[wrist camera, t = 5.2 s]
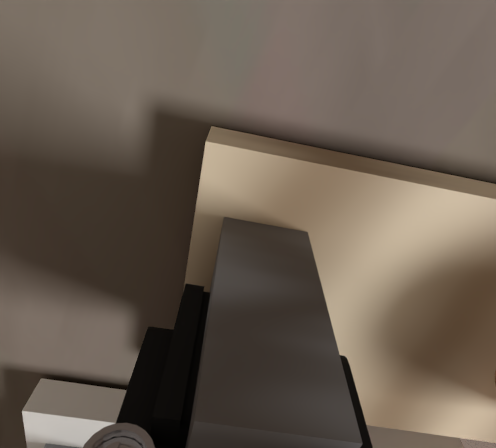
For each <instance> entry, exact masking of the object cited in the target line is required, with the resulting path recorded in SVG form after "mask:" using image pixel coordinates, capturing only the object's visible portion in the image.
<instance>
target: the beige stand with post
mask: <svg viewBox="0 0 496 448" xmlns="http://www.w3.org/2000/svg"><path fill="white" fill-rule="evenodd" d="M186 283H187V284H193V285H199V286H205V287H204V292H210V299H209V305H208V312H207V318H206V325H205V331H204V338H203V344H202V351H201V357H200V364H199V371H198V377H197V384H196V390H195V397H194V403H193V410H192V416H191V421H190V427H189V432H188V436H187V441H186V446H185V448H360V447H361V446H362V444H363V443H362V439H361V435H360V432H359V428H358V424H357V420H356V416H355V412H354V408H353V405H352V401H351V397H350V393H349V389H348V385H347V381H346V378H345V374H344V370H343V366H342V362H341V358H340V355H342V356H345V357H346V358H347V359H348V362H349V365H350V368H351V372H352V375H353V379H354V382H355V386H356V390H357V393H358V397H359V400H360V404H361V407H362V411H363V415H364V418H365V422H366V425H369V426H377V427H384V428H391V429H398V430H405V431H413V432H420V433H427V434H434V435H441V436H449V437H456V438H463V439H470V440H478V441H485V442H492V443H496V385H495V371H496V184H493V183H488V182H483V181H478V180H473V179H469V178H464V177H459V176H454V175H449V174H444V173H439V172H434V171H429V170H424V169H419V168H415V167H410V166H405V165H400V164H395V163H390V162H385V161H380V160H375V159H370V158H366V157H361V156H356V155H351V154H346V153H341V152H336V151H331V150H326V149H321V148H316V147H312V146H307V145H302V144H297V143H292V142H287V141H282V140H277V139H272V138H267V137H263V136H258V135H253V134H248V133H243V132H238V131H233V130H228V129H223V128H218V127H214V126H211V129H210V131H209V134H208V137H207V139H206V143H205V150H204V156H203V163H202V169H201V176H200V183H199V189H198V196H197V203H196V209H195V216H194V223H193V229H192V236H191V242H190V249H189V256H188V262H187V269H186V276H185V282H184V287H185V284H186ZM183 291H184V289H183Z"/></svg>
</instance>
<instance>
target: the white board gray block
mask: <svg viewBox="0 0 496 448" xmlns="http://www.w3.org/2000/svg"><path fill="white" fill-rule="evenodd" d="M126 391H127V390H122V389H114V388H107V387H100V386H93V385H86V384H78V383H71V382H64V381H57V380H50V379H43V378H41V379H40V381H39V382H38V384H37V386H36V388H35V389H34V391H33V393H32V394H31V396H30V398H29V400H28V401H27V403H26V405H25V406H24V408H23V410H22V415H23V422H24V430H25V437H26V444H27V448H83V446H84V444H85V443H86V442H87V441H88V440H89V439H90V438H91V436H92V435H93V434H95V433H96V432H98V431H99V430H101V429H102V428H104V427H106V426H109V425H112V424H115V423H116V421H117V418H118V415H119V412H120V409H121V406H122V403H123V400H124V397H125V394H126ZM367 429H368V432H369V436H370V440H371V443H372V447H373V448H464V446H463V444H462V442H461V440H460V438H456V437H449V436H441V435H434V434H427V433H420V432H413V431H405V430H398V429H391V428H384V427H377V426H369V425H367Z"/></svg>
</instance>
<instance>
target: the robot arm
mask: <svg viewBox="0 0 496 448" xmlns="http://www.w3.org/2000/svg"><path fill="white" fill-rule="evenodd" d="M204 287H205V286H199V285H193V284H187V283H186V284H185V287H184V291H183V295H182V299H181V303H180V307H179V311H178V315H177V319H176V323H175V327H174V330H169V329H162V328H156V327H148V329H147V332H146V335H145V338H144V341H143V344H142V346H141V349H140V352H139V355H138V358H137V361H136V364H135V367H134V370H133V373H132V376H131V379H130V382H129V385H128V388H127V391H126V394H125V397H124V400H123V403H122V406H121V409H120V412H119V415H118V418H117V421H116V423H115V424H112V425H109V426H106V427H104V428H102V429H101V430H99V431H98V432H96V433H95V434H93V435H92V436H91V438H90V439H89V440H88V441H87V442H86V443H85V444H84V446H83V448H185V446H186V441H187V436H188V432H189V427H190V421H191V416H192V410H193V403H194V397H195V390H196V384H197V377H198V371H199V364H200V357H201V351H202V344H203V338H204V331H205V325H206V318H207V312H208V305H209V299H210V292H204ZM340 358H341V362H342V366H343V370H344V374H345V378H346V381H347V385H348V389H349V393H350V397H351V401H352V405H353V408H354V412H355V416H356V420H357V424H358V428H359V432H360V435H361V439H362V443H363V444H362V446H361V447H360V448H373V447H372V443H371V440H370V436H369V432H368V429H367V425H366V422H365V418H364V415H363V411H362V407H361V404H360V400H359V397H358V393H357V390H356V386H355V382H354V379H353V375H352V372H351V368H350V365H349V362H348V359H347V358H346V357H345V356H342V355H340Z"/></svg>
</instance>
